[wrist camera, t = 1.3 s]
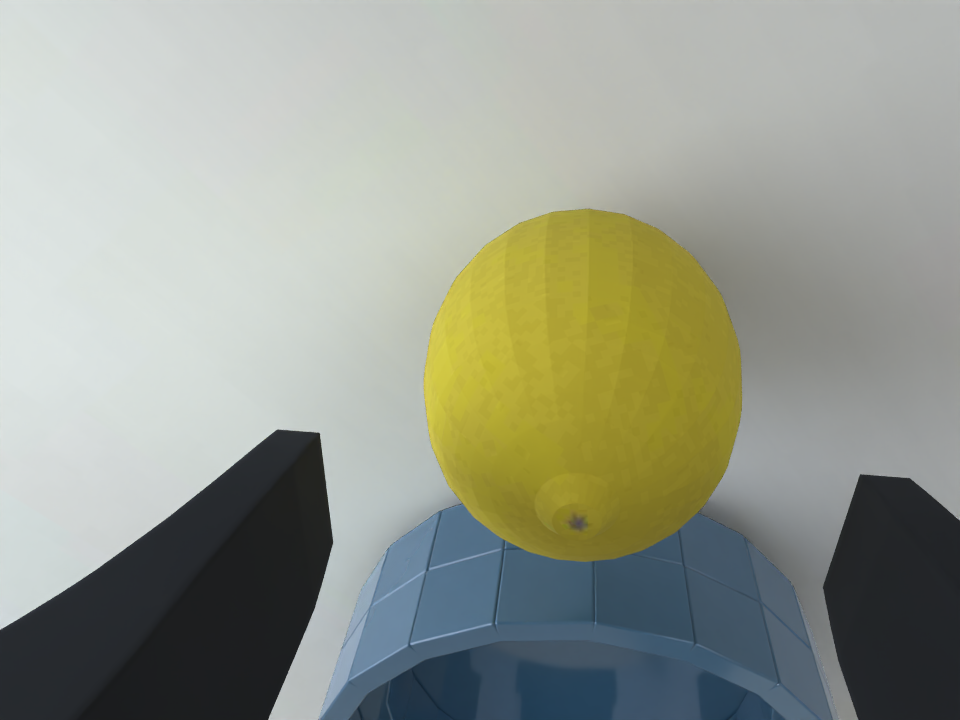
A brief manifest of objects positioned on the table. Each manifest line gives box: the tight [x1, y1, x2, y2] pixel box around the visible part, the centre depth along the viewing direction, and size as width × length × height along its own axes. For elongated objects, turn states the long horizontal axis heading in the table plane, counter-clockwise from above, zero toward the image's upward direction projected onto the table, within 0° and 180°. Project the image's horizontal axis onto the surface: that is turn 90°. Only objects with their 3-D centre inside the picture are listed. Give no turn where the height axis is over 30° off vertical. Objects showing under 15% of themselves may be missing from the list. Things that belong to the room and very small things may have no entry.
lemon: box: [424, 209, 742, 562], centre depth 14 cm, size 6×6×8 cm
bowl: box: [318, 504, 839, 720], centre depth 21 cm, size 13×13×5 cm
